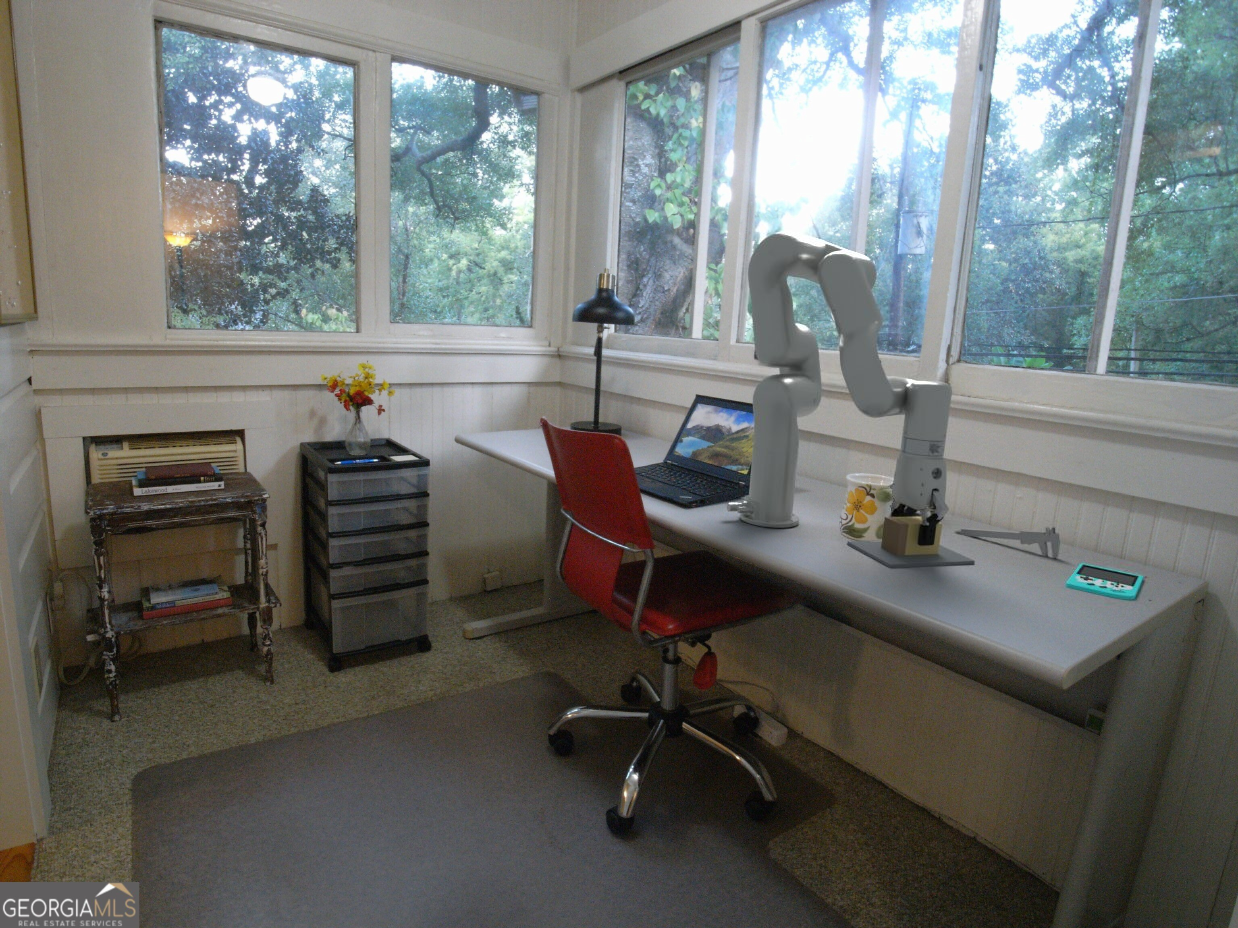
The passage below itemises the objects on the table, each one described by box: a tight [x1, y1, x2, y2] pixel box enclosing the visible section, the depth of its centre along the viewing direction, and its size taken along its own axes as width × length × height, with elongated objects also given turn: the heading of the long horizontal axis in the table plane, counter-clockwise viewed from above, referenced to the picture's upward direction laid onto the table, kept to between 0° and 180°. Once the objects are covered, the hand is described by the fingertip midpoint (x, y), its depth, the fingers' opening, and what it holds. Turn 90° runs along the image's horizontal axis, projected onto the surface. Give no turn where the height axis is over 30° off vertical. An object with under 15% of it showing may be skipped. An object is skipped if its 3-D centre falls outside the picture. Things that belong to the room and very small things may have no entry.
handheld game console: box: [1064, 562, 1144, 601], centre depth 131 cm, size 10×16×1 cm, turn 140°
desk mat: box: [846, 540, 976, 569], centre depth 142 cm, size 18×14×1 cm
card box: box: [881, 515, 943, 556], centre depth 142 cm, size 5×9×6 cm, turn 105°
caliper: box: [954, 526, 1061, 559], centre depth 151 cm, size 20×1×6 cm, turn 37°
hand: (910, 537), depth 142 cm, fingers open, 8 cm apart
